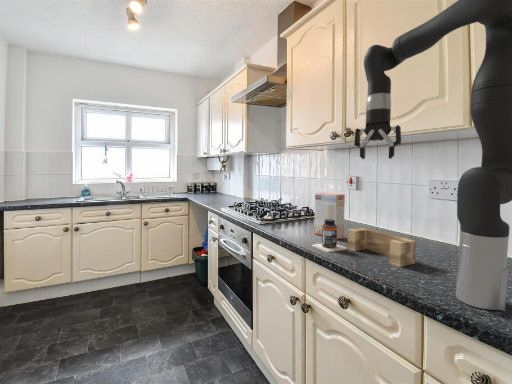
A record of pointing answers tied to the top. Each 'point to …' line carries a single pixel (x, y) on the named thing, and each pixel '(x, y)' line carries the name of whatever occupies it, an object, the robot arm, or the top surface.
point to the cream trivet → (329, 248)
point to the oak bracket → (383, 245)
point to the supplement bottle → (329, 234)
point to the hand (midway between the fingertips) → (376, 158)
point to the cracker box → (329, 211)
